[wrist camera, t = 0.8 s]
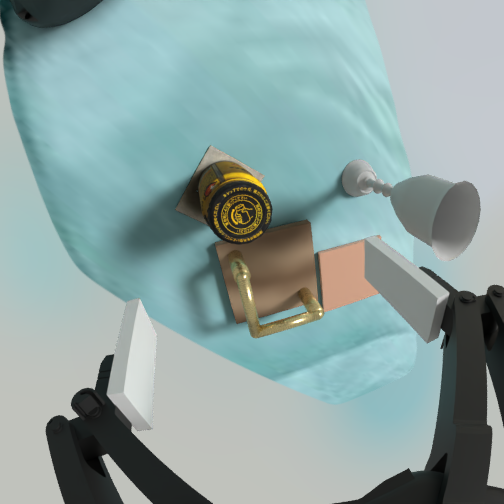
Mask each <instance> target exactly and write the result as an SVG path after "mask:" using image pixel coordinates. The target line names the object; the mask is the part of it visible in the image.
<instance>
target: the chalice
mask: <svg viewBox="0 0 504 504" xmlns="http://www.w3.org/2000/svg"><path fill="white" fill-rule="evenodd" d="M342 185H343V187H344V190H345V191H346V192H347V193H348V194H349V195H351V196H355V197H359V196H363V195H367V194H369V193H371V192H372V191H374V192H375V193H377V194H379V193H381V192H382V194H383V195H384V196H385V197H389V196H390V200H391V204H392V206H393V208H394V210H395V213H396V215H397V217H398V218H399V220H400V221H401V223H402V224H403V226H404V227H405V229H406V230H407V232H409V233H410V234H411V235H413V236H415V237H416V238H418V239H420V240H421V241H423V242H425V243H426V244H428V245H429V246H431V247H432V248H433V251H434V253H435V255H436V257H437V258H439V259H440V260H442V261H451V260H453V259H455V258H457V257H458V256H459V255H461V254H462V253H463V252H464V251H465V249H466V248H467V247H468V245H469V244H470V243H471V241H472V238H473V236H474V234H475V232H476V229H477V226H478V222H479V217H480V198H479V195H478V192H477V189H476V188H475V187H474V186H473V184H472V183H469V182H466V181H463V182H459V183H452V182H449V181H446V180H443V179H440V178H437V177H435V176H431V175H423V176H417V177H412V178H409V179H406V180H404V181H402V182H399V183H398V184H396V185H395V186H394V187H393V186H392V185H391V184H390V183H386V184H384V182H383V180H382V179H377V176H376V173H375V172H374V170H373V169H372V167H371V166H370V165H369V163H367V162H366V161H364V160H360V159H359V160H354V161H352V162H350V163H349V164H348V165H347V166H346V167H345V169H344V171H343V175H342Z"/></svg>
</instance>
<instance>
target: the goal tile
mask: <svg viewBox="0 0 504 504" xmlns="http://www.w3.org/2000/svg"><path fill="white" fill-rule="evenodd" d="M376 237H378V238H379V239H381V236H380V235H377V236H376ZM318 260H319V271H320V283H321V296H322V308H323V310H324V312H326V311H330V310H333V309H336V308H339V307H342V306H345V305H347V304H350V303H353V302H356V301H359V300H362V299H365V298H368V297H370V296H373V295H376V294H379V292H378V291H377V290H376V289H375V288H374V287H373V286H372V285H371V284H370V283H369V282H368V281H367V280H366V279H365V278H364V273H365V247H364V239H363V240H360V241H356V242H353V243H349V244H345V245H342V246H338V247H335V248H331V249H327V250H324V251H320V252H318Z"/></svg>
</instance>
